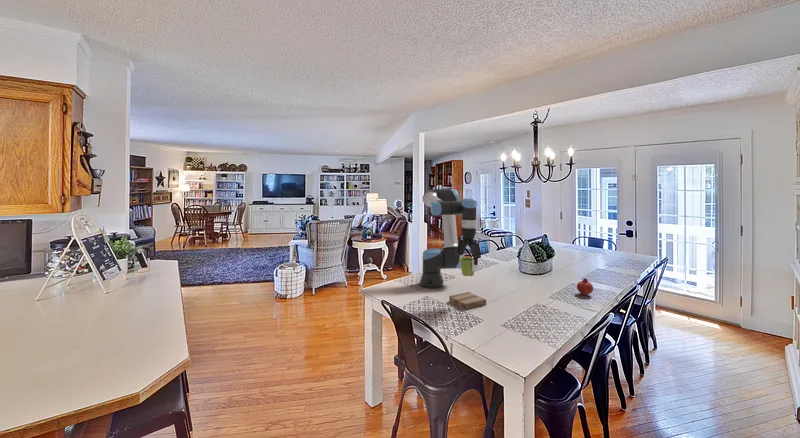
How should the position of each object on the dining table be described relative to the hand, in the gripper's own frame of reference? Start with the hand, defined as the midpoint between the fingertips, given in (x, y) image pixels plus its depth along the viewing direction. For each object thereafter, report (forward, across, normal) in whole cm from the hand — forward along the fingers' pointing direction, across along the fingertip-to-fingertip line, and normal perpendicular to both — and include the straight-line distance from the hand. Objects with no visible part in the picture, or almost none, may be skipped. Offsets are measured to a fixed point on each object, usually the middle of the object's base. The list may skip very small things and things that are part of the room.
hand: (468, 268), depth 169 cm
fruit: (+20, +24, +68) cm, 75 cm away
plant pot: (+4, 0, 0) cm, 4 cm away
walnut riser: (+19, 0, 0) cm, 19 cm away
